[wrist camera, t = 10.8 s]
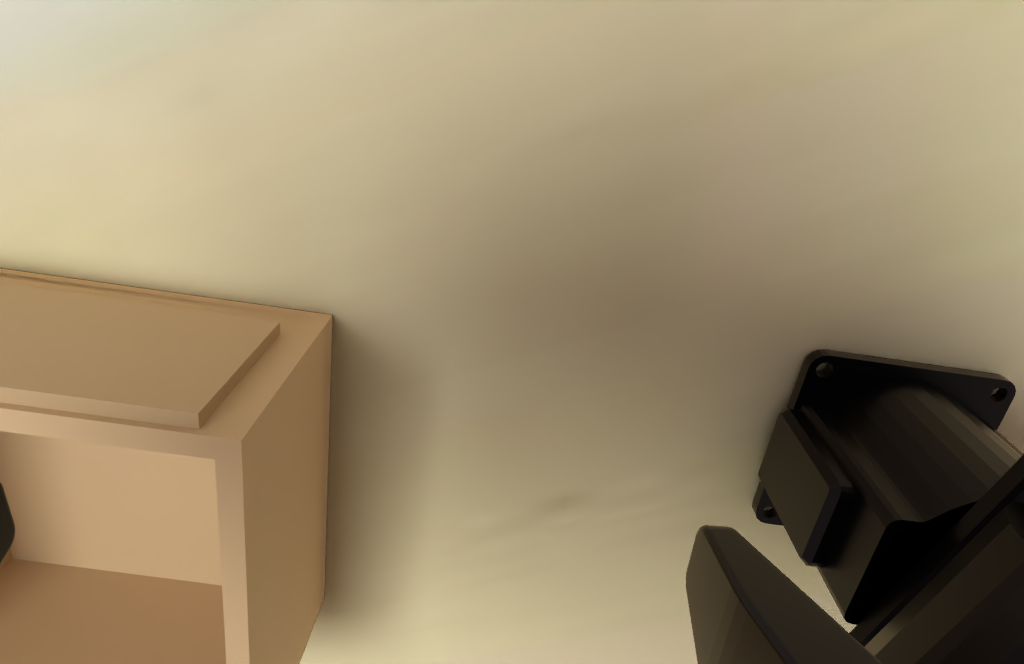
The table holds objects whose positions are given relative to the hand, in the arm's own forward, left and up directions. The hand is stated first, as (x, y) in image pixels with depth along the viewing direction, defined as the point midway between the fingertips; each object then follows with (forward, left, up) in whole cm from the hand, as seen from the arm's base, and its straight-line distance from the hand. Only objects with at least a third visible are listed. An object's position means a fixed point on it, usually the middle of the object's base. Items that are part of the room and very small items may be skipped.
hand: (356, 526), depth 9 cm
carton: (+10, +9, -12) cm, 18 cm away
